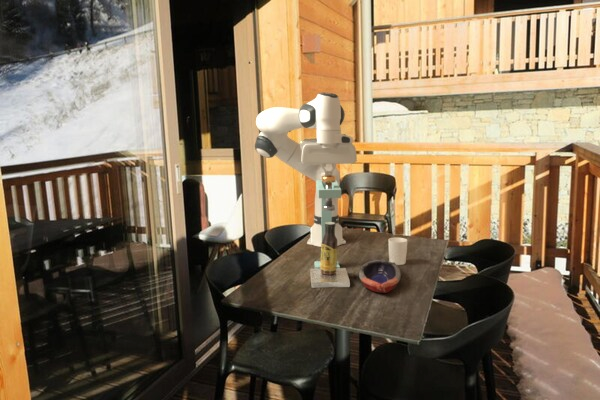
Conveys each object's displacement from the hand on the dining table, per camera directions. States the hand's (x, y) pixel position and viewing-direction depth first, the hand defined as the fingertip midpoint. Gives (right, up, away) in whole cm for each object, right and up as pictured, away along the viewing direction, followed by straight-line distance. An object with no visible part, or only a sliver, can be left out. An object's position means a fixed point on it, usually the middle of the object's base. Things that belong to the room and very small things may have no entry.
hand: (328, 176), depth 184 cm
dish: (+19, -40, +4) cm, 45 cm away
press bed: (+1, -39, +7) cm, 40 cm away
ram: (0, -12, +2) cm, 13 cm away
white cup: (+30, -35, +27) cm, 54 cm away
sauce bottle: (0, -37, +9) cm, 38 cm away
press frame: (0, -38, +13) cm, 40 cm away
